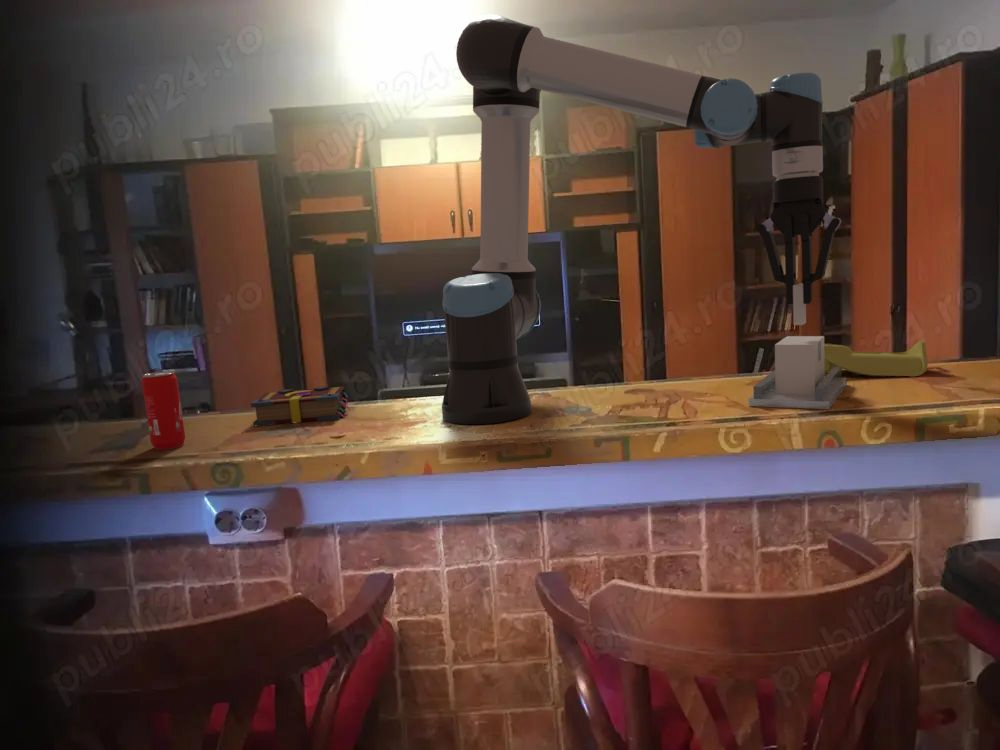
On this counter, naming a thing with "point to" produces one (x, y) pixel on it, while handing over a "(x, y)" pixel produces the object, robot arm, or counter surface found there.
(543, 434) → the counter surface
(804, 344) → the block
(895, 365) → the plastic component
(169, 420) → the beverage can
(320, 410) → the decorative book
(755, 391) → the grey channel bracket
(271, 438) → the counter surface
